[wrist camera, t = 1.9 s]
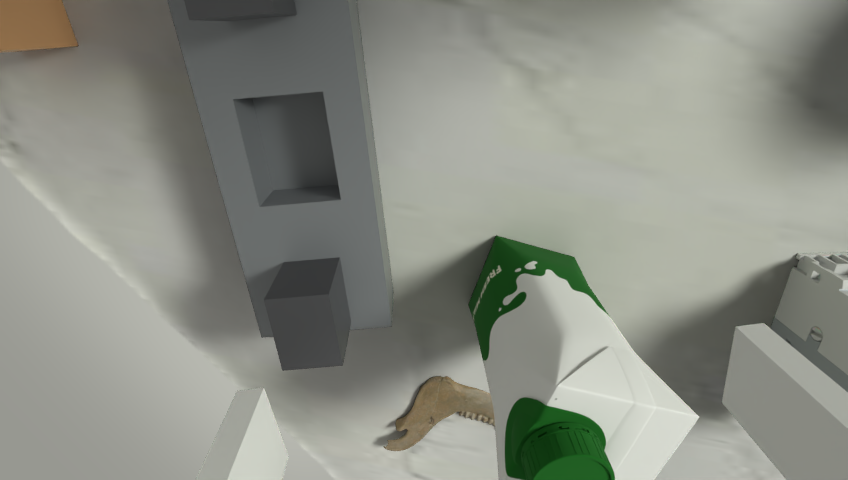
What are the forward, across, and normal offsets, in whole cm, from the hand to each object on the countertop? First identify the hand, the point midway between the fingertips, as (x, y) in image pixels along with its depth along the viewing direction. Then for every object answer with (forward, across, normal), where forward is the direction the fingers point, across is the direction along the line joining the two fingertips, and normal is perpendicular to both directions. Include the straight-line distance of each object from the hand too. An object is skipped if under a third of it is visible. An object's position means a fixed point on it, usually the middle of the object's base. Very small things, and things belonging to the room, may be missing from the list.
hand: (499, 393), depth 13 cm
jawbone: (+25, +1, -30) cm, 39 cm away
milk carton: (+25, +6, -11) cm, 28 cm away
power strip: (+24, -9, +9) cm, 28 cm away
